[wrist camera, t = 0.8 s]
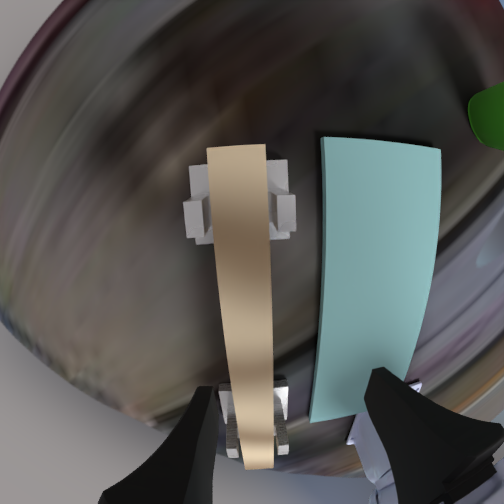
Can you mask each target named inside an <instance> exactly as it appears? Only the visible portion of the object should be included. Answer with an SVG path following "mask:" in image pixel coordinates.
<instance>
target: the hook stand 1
mask: <svg viewBox="0 0 504 504" xmlns="http://www.w3.org/2000/svg"><path fill="white" fill-rule="evenodd" d="M266 168H267V188H268V210H269V234H270V240H277V239H290V232H291V231H296V200H295V194H292V193H290V192H289V190H288V166H287V160H266ZM189 175H190V188H191V198H189V199H188V200H186V201H184V202H183V206H184V216H185V226H186V235H187V238H195V241H196V245H199V244H214V239H213V228H212V217H211V205H210V192H209V178H208V164H204V165H194V166H189Z"/></svg>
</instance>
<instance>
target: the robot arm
mask: <svg viewBox="0 0 504 504" xmlns="http://www.w3.org/2000/svg"><path fill="white" fill-rule="evenodd" d="M421 386H422V383H421V382H416V383H413V384H410V385H407V384H406V383H405V382H403V381H402V380H401V379H399V378H398V377H397V376H396V375H394V374H393V373H392V372H390V371H389V370H388V369H386V368H385V367H379V368H375V369H372V372H371V375H370V379H369V382H368V385H367V389H366V392H365V395H364V401H365V405H366V408H367V411H366V412H362V413H358V414H356V417H355V419H354V422H353V425H352V428H351V431H350V434H349V436H348V439H347V442H346V443H347V444H348V445H350V444H355V447H356V449H357V452H358V455H359V458H360V460H361V463H362V466H363V469H364V471H365V474H366V476H367V478H368V479H369V480H370V481H371V482H373V483H374V484H375V486H376V489H374V490H373V491H372V493H371V496H370V498H369V504H504V457H503V458H502V459H501V460H500V461H498V462H497V463H496V464H495V465H494V466H493V464H492V462H493V461H494V458H493V456H492V455H493V453H495V451H496V450H497V449H498V448H499V447H500V446H501V445H502V444H503V442H504V428H503V427H502V426H501V424H499V423H492V422H485V421H480V420H476V419H472V418H469V417H466V416H463V415H460V414H458V413H455V412H453V411H450V410H448V409H446V408H444V407H442V406H440V405H438V404H436V403H434V402H433V401H431V400H429V399H428V398H426V397H425V396H423V395H422V394H420V393H419V390H420V388H421ZM218 420H219V414H218V409H217V404H216V400H215V394H214V389H213V386H199V387H197V389H196V391H195V393H194V395H193V397H192V399H191V401H190V403H189V405H188V407H187V409H186V410H185V412H184V414H183V415H182V417H181V418H180V420H179V422H178V423H177V425H176V426H175V427H174V429H173V430H172V432H171V433H170V434H169V436H168V437H167V439H166V440H165V441H164V442H163V443H162V445H161V446H160V447H159V448H158V449H157V450H156V451H155V452H154V453H153V454H152V455H151V456H150V457H149V458H148V459H147V460H146V461H145V462H144V463H143V464H142V465H141V466H140V467H139V468H137V469H136V470H135V471H133V472H132V473H131V474H129V475H128V476H127V477H125V478H124V479H123V480H121V481H120V482H118V483H116V484H115V485H113V486H111V487H110V488H108V489H106V490H105V491H103V493H102V495H101V497H100V499H99V501H98V504H212V480H213V469H214V462H215V455H216V448H217V440H218Z"/></svg>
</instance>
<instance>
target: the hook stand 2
mask: <svg viewBox="0 0 504 504" xmlns="http://www.w3.org/2000/svg"><path fill="white" fill-rule="evenodd" d="M219 396H220V401H221V406H222V411H223V415H224V420H225V424H227V439H226V450H227V454H228V457H229V458H239V456H238V438H240V437H239V431H238V425H237V419H236V413H235V407H234V401H233V394H232V388H231V383H222V384H219ZM273 404H274V435H276V442H277V449H278V455H282V454H288V449H289V442H288V437H287V431H286V425H285V420H287V405H288V383H287V379H284V380H273Z"/></svg>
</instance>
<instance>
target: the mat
mask: <svg viewBox="0 0 504 504" xmlns="http://www.w3.org/2000/svg"><path fill="white" fill-rule="evenodd" d="M321 158H322V189H323V248H322V279H321V300H320V316H319V329H318V341H317V352H316V362H315V372H314V381H313V389H312V397H311V404H310V411H309V421H310V423H313V422H319V421H325V420H330V419H335V418H340V417H345V416H349V415H354V414H358V413H362V412H366V411H367V408H366V405H365V401H364V395H365V392H366V389H367V385H368V382H369V379H370V375H371V372H372V369H375V368H379V367H385V368H386V369H388V370H389V371H390V372H392V373H393V374H394V375H396V376H397V377H398V378H399V379H401V380H402V381H404V379H405V376H406V373H407V370H408V368H409V365H410V362H411V359H412V356H413V353H414V349H415V346H416V343H417V339H418V336H419V332H420V329H421V325H422V321H423V317H424V313H425V309H426V305H427V300H428V296H429V291H430V286H431V280H432V275H433V269H434V262H435V256H436V248H437V240H438V230H439V219H440V203H441V149H436V148H430V147H424V146H418V145H411V144H404V143H396V142H387V141H378V140H367V139H354V138H338V137H322V138H321Z"/></svg>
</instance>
